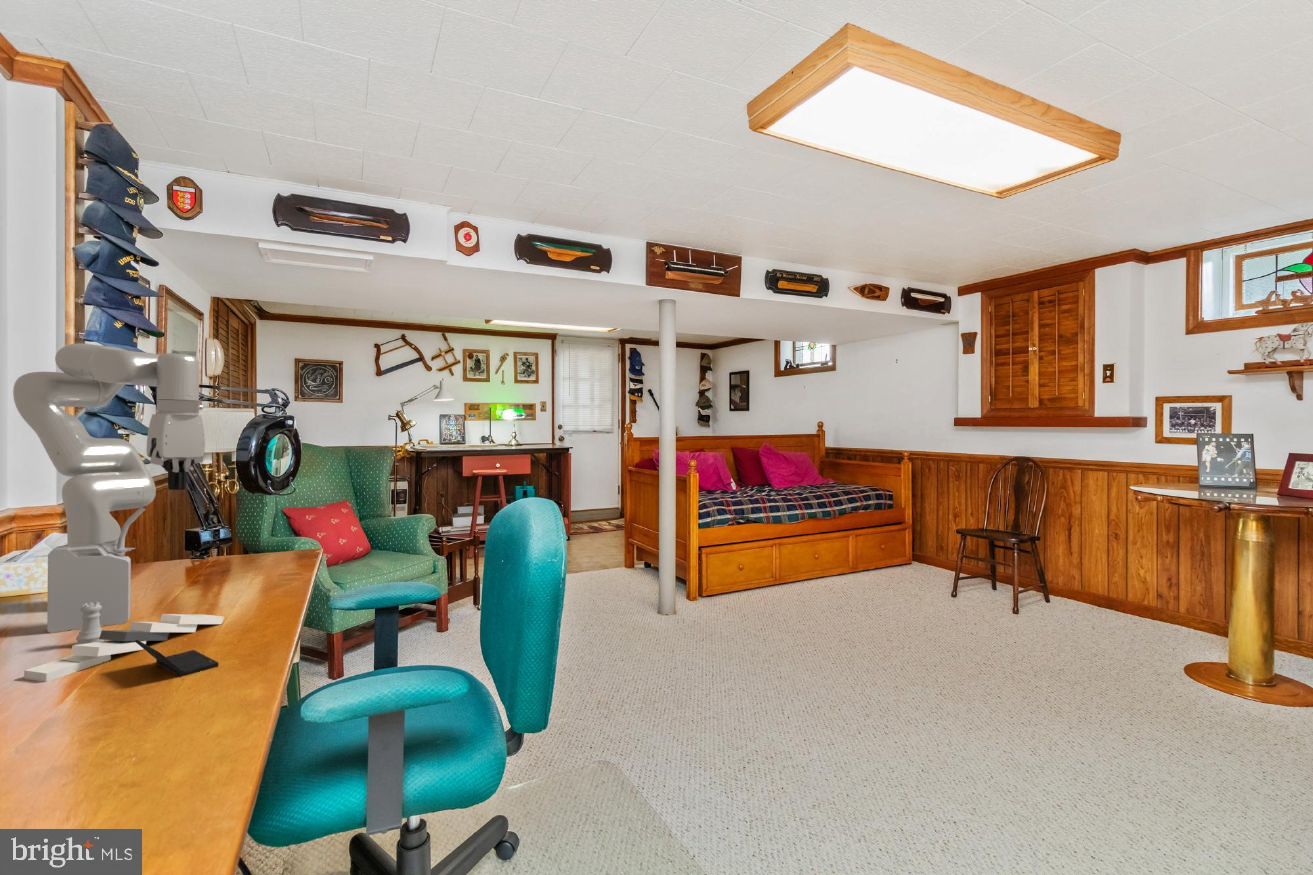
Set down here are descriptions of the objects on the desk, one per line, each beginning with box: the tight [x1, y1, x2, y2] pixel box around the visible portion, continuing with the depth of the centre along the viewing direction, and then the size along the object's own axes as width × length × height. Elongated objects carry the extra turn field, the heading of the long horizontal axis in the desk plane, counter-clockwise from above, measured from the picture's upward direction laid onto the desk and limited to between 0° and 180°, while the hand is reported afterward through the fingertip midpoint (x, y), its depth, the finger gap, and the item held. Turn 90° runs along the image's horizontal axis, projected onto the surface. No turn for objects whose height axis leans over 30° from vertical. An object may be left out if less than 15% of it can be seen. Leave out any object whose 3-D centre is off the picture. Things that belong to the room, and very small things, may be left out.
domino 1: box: [23, 654, 112, 683], centre depth 109 cm, size 2×5×10 cm
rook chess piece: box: [75, 602, 106, 645], centre depth 121 cm, size 4×4×8 cm
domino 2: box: [70, 640, 147, 657], centre depth 114 cm, size 2×5×10 cm
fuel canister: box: [46, 507, 146, 634], centre depth 133 cm, size 15×5×25 cm, turn 127°
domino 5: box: [159, 613, 224, 625], centre depth 130 cm, size 2×5×10 cm
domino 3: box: [99, 629, 170, 642], centre depth 119 cm, size 2×5×10 cm
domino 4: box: [128, 621, 198, 633], centre depth 125 cm, size 2×5×10 cm
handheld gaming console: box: [135, 640, 220, 678], centre depth 110 cm, size 12×7×10 cm
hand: (177, 489), depth 138 cm, fingers closed
